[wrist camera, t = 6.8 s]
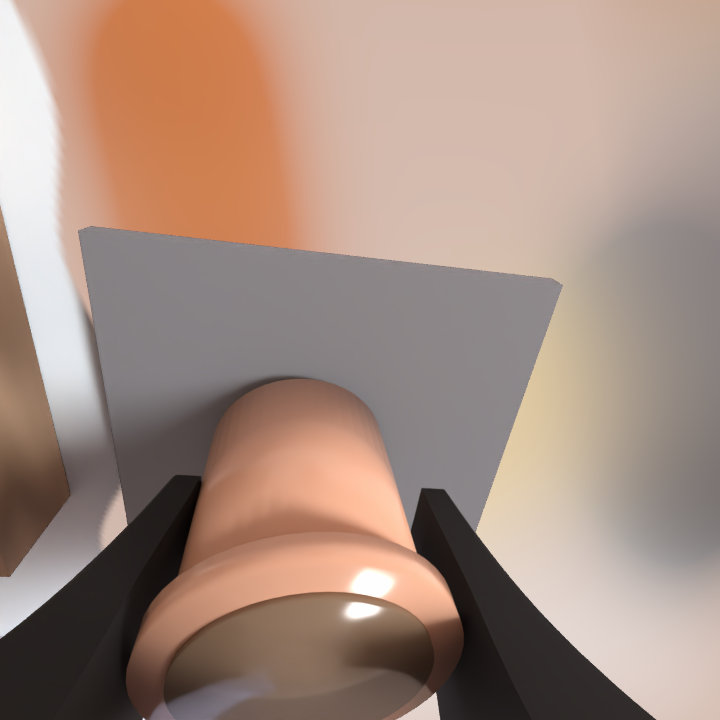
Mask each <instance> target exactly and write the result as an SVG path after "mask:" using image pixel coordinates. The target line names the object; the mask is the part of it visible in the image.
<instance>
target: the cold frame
mask: <svg viewBox="0 0 720 720" xmlns="http://www.w3.org/2000/svg"><path fill="white" fill-rule="evenodd" d="M69 496H70V491H69V487H68V483H67V479H66V474H65V470H64V466H63V462H62V458H61V454H60V450H59V446H58V442H57V437H56V433H55V429H54V425H53V421H52V417H51V413H50V409H49V404H48V400H47V396H46V392H45V388H44V384H43V380H42V376H41V372H40V367H39V363H38V359H37V355H36V351H35V347H34V343H33V339H32V335H31V330H30V326H29V322H28V318H27V314H26V310H25V306H24V302H23V298H22V293H21V289H20V285H19V281H18V277H17V273H16V269H15V265H14V261H13V256H12V252H11V248H10V244H9V240H8V236H7V232H6V228H5V224H4V219H3V215H2V211H1V207H0V577H10V576H11V574H12V573H13V572H14V570H15V569H16V568H17V566H18V565H19V564H20V562H21V561H22V560H23V558H24V557H25V556H26V554H27V553H28V552H29V550H30V549H31V548H32V546H33V545H34V543H35V542H36V541H37V539H38V538H39V537H40V535H41V534H42V533H43V531H44V530H45V529H46V527H47V526H48V525H49V523H50V522H51V521H52V519H53V518H54V517H55V515H56V514H57V513H58V511H59V510H60V509H61V507H62V506H63V504H64V503H65V502H66V500H67V499H68V498H69Z"/></svg>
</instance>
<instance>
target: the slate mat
mask: <svg viewBox="0 0 720 720" xmlns="http://www.w3.org/2000/svg"><path fill="white" fill-rule="evenodd" d="M78 233H79V239H80V244H81V251H82V256H83V263H84V269H85V274H86V281H87V287H88V292H89V298H90V304H91V310H92V316H93V322H94V328H95V334H96V340H97V346H98V352H99V358H100V364H101V370H102V375H103V381H104V387H105V393H106V399H107V405H108V411H109V417H110V423H111V429H112V435H113V441H114V447H115V453H116V458H117V464H118V470H119V476H120V482H121V488H122V494H123V500H124V505H125V511H126V517H127V524H128V525H129V524H130V523H131V522H132V521H133V520H134V519H135V518H136V517H137V515H138V514H139V513H140V512H141V511H142V510H143V509H144V508H145V507H146V506H147V505H148V504H149V503H150V501H151V500H152V499H153V498H154V497H155V496H156V495H157V494H158V493H159V492H160V490H161V489H162V488H163V487H164V486H165V485H166V484H167V482H168V481H169V480H170V479H171V478H172V477H173V476H175V475H192V476H201V482H202V479H203V475H204V471H205V467H206V463H207V459H208V455H209V451H210V447H211V443H212V439H213V435H214V432H215V429H216V427H217V424H218V423H219V421H220V419H221V417H222V416H223V415H224V413H225V412H226V411H227V409H228V408H229V407H230V406H231V405H232V404H233V403H234V402H235V401H237V400H238V399H239V398H241V397H242V396H243V395H245V394H247V393H248V392H250V391H252V390H254V389H256V388H258V387H261V386H263V385H266V384H269V383H273V382H276V381H282V380H288V379H314V380H320V381H325V382H329V383H332V384H335V385H338V386H340V387H342V388H345V389H347V390H348V391H350V392H352V393H353V394H355V395H356V396H357V397H359V398H360V399H361V400H362V401H363V402H364V403H365V404H366V405H367V406H368V407H369V408H370V410H371V411H372V413H373V414H374V416H375V418H376V420H377V422H378V425H379V428H380V432H381V435H382V438H383V442H384V445H385V448H386V452H387V455H388V459H389V462H390V465H391V469H392V472H393V475H394V479H395V482H396V485H397V489H398V492H399V495H400V499H401V502H402V505H403V509H404V512H405V515H406V519H407V522H408V525H409V529H410V531H411V528H412V524H413V520H414V516H415V512H416V508H417V504H418V500H419V496H420V492H421V488H433V489H444V490H445V491H446V492H447V493H448V495H449V496H450V498H451V499H452V501H453V502H454V503H455V505H456V506H457V508H458V509H459V511H460V512H461V513H462V515H463V516H464V518H465V519H466V520H467V522H468V523H469V525H470V526H471V527H472V529H473V530H474V531H475V532H476V529H477V526H478V523H479V521H480V518H481V515H482V512H483V509H484V506H485V503H486V501H487V498H488V495H489V492H490V489H491V487H492V483H493V481H494V478H495V475H496V472H497V470H498V467H499V464H500V461H501V458H502V455H503V452H504V450H505V447H506V444H507V441H508V439H509V436H510V433H511V430H512V427H513V424H514V421H515V419H516V416H517V413H518V410H519V407H520V405H521V402H522V399H523V396H524V393H525V390H526V388H527V385H528V381H529V379H530V376H531V373H532V371H533V368H534V365H535V362H536V359H537V356H538V353H539V350H540V348H541V345H542V342H543V339H544V337H545V334H546V331H547V328H548V325H549V323H550V320H551V317H552V314H553V311H554V308H555V306H556V302H557V300H558V297H559V294H560V291H561V289H562V284H560V283H558V282H557V281H555V280H553V279H551V278H542V277H533V276H524V275H515V274H507V273H498V272H488V271H480V270H472V269H462V268H454V267H445V266H436V265H428V264H418V263H410V262H401V261H392V260H383V259H375V258H366V257H357V256H349V255H340V254H331V253H322V252H312V251H305V250H295V249H287V248H278V247H269V246H261V245H252V244H243V243H234V242H226V241H216V240H207V239H198V238H190V237H181V236H173V235H164V234H154V233H146V232H138V231H129V230H120V229H111V228H102V227H94V226H90V227H87V228H85V229H82V230H79V231H78Z"/></svg>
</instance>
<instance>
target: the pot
mask: <svg viewBox="0 0 720 720" xmlns="http://www.w3.org/2000/svg"><path fill="white" fill-rule="evenodd" d="M463 646H464V632H463V627H462V623H461V620H460V617H459V614H458V611H457V608H456V605H455V602H454V600H453V597H452V594H451V591H450V589H449V587H448V584H447V582H446V580H445V579H444V577H443V576H442V575H441V573H440V572H439V571H438V569H437V568H436V567H434V566H433V565H432V564H431V563H430V562H429V561H428V560H427V559H425V558H424V557H422V556H420V555H419V554H417V552H416V549H415V545H414V542H413V539H412V535H411V532H410V529H409V525H408V522H407V519H406V515H405V512H404V509H403V505H402V502H401V499H400V495H399V492H398V489H397V485H396V482H395V479H394V475H393V472H392V469H391V465H390V462H389V459H388V455H387V452H386V448H385V445H384V442H383V438H382V435H381V432H380V428H379V425H378V422H377V420H376V418H375V416H374V414H373V413H372V411H371V410H370V408H369V407H368V406H367V405H366V404H365V403H364V402H363V401H362V400H361V399H360V398H359V397H357V396H356V395H355V394H353V393H352V392H350V391H348V390H347V389H345V388H342V387H340V386H338V385H335V384H332V383H329V382H325V381H320V380H314V379H288V380H282V381H276V382H273V383H269V384H266V385H263V386H261V387H258V388H256V389H254V390H252V391H250V392H248V393H247V394H245V395H243V396H242V397H241V398H239V399H238V400H237V401H235V402H234V403H233V404H232V405H231V406H230V407H229V408H228V409H227V411H226V412H225V413H224V415H223V416H222V417H221V419H220V421H219V423H218V424H217V427H216V429H215V432H214V435H213V439H212V443H211V447H210V451H209V455H208V459H207V463H206V467H205V471H204V475H203V479H202V483H201V487H200V490H199V494H198V498H197V502H196V506H195V510H194V514H193V518H192V522H191V526H190V530H189V534H188V538H187V542H186V546H185V549H184V553H183V557H182V561H181V565H180V569H179V573H178V577H176V578H175V579H174V580H173V581H172V582H171V583H169V584H168V585H167V586H166V587H165V588H164V589H163V590H162V591H161V592H160V593H159V594H158V595H157V597H156V598H155V599H154V600H153V601H152V602H151V604H150V606H149V607H148V609H147V611H146V612H145V614H144V616H143V618H142V621H141V624H140V627H139V630H138V634H137V637H136V640H135V644H134V647H133V650H132V653H131V657H130V660H129V663H128V666H127V671H126V687H127V692H128V696H129V698H130V700H131V702H132V704H133V706H134V707H135V709H136V710H137V711H138V712H139V714H140V715H141V716H142V717H143V718H144V719H145V720H396V719H398V718H399V717H401V716H403V715H405V714H407V713H408V712H410V711H411V710H413V709H415V708H416V707H418V706H419V705H420V704H422V703H423V702H424V701H426V700H427V699H428V698H430V697H431V696H432V695H433V694H434V693H435V692H436V691H437V690H438V689H440V687H441V686H442V685H443V684H444V683H445V682H446V681H447V679H448V678H449V677H450V675H451V674H452V672H453V671H454V669H455V668H456V666H457V664H458V662H459V659H460V657H461V654H462V650H463Z"/></svg>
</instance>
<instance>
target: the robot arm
mask: <svg viewBox="0 0 720 720" xmlns="http://www.w3.org/2000/svg"><path fill="white" fill-rule="evenodd" d="M201 483H202V482H201V476H192V475H175V476H173V477H172V478H171V479H170V480H169V481H168V482H167V484H166V485H165V486H164V487H163V488H162V489H161V490H160V492H159V493H158V494H157V495H156V496H155V497H154V498H153V499H152V500H151V501H150V503H149V504H148V505H147V506H146V507H145V508H144V509H143V510H142V511H141V512H140V513H139V514H138V515H137V517H136V518H135V519H134V520H133V521H132V522H131V523H130V524H129V525H128V526H127V527H126V528H125V529H124V530H123V531H122V532H121V533H120V534H119V535H118V536H117V537H116V538H115V539H114V540H113V541H112V542H111V543H110V544H109V545H108V546H107V547H106V548H105V549H104V550H103V551H102V552H101V553H100V554H99V555H98V556H97V557H96V558H94V559H93V560H92V561H91V562H90V563H89V564H88V565H87V566H86V567H85V568H84V569H83V570H82V571H81V572H79V573H78V574H77V575H76V576H75V577H74V578H73V579H72V580H71V581H70V582H69V583H67V584H66V585H65V586H64V587H63V588H62V589H61V590H59V591H58V592H57V593H56V594H55V595H54V596H53V597H51V598H50V599H49V600H48V601H47V602H46V603H44V604H43V605H42V606H41V607H40V608H38V609H37V610H36V611H35V612H34V613H32V614H31V615H30V616H29V617H27V618H26V619H25V620H24V621H23V622H21V623H20V624H19V625H18V626H16V627H15V628H14V629H12V630H11V631H10V632H9V633H7V634H6V635H5V636H3V637H2V638H1V639H0V720H145V719H144V718H143V717H142V716H141V715H140V714H139V712H138V711H137V710H136V709H135V707H134V706H133V704H132V702H131V700H130V698H129V696H128V692H127V687H126V671H127V666H128V663H129V660H130V657H131V653H132V650H133V647H134V644H135V640H136V637H137V634H138V630H139V627H140V624H141V621H142V618H143V616H144V614H145V612H146V611H147V609H148V607H149V606H150V604H151V602H152V601H153V600H154V599H155V598H156V597H157V595H158V594H159V593H160V592H161V591H162V590H163V589H164V588H165V587H166V586H167V585H168V584H169V583H171V582H172V581H173V580H174V579H175V578H176V577H178V573H179V569H180V565H181V561H182V557H183V553H184V549H185V546H186V542H187V538H188V534H189V530H190V526H191V522H192V518H193V514H194V510H195V506H196V502H197V498H198V494H199V490H200V487H201ZM410 532H411V535H412V539H413V542H414V545H415V549H416V552H417V554H419V555H420V556H422V557H424V558H425V559H427V560H428V561H429V562H430V563H431V564H432V565H433V566H434V567H436V568H437V569H438V571H439V572H440V573H441V575H442V576H443V577H444V579H445V580H446V582H447V584H448V587H449V589H450V591H451V594H452V597H453V600H454V602H455V605H456V608H457V611H458V614H459V617H460V620H461V623H462V627H463V632H464V646H463V650H462V654H461V657H460V659H459V662H458V664H457V666H456V668H455V669H454V671H453V672H452V674H451V675H450V677H449V678H448V679H447V681H446V682H445V683H444V684H443V685H442V686H441V687H440V689H438V690H437V691H436V694H437V699H438V706H439V713H440V720H656V719H655V718H653V717H652V716H651V715H650V714H649V713H647V712H646V711H645V710H644V709H643V708H641V707H640V706H639V705H638V704H637V703H635V702H634V701H633V700H632V699H631V698H630V697H628V696H627V695H626V694H625V693H624V692H623V691H622V690H620V689H619V688H618V687H617V686H616V685H615V684H614V683H612V682H611V681H610V680H609V679H608V678H607V677H606V676H605V675H604V674H603V673H602V672H601V671H600V670H598V669H597V668H596V667H595V666H594V665H593V664H592V663H591V662H590V661H589V660H588V659H586V658H585V657H584V656H583V655H582V654H581V653H580V652H579V651H578V650H577V649H576V648H575V647H574V646H573V645H572V644H571V643H570V642H569V641H568V640H567V639H566V638H565V637H564V636H563V635H562V634H561V633H560V632H559V631H558V630H557V629H556V628H555V627H554V626H553V625H552V624H551V623H550V622H549V621H548V620H547V619H546V618H545V617H544V616H543V615H542V613H541V612H540V611H539V610H538V609H537V608H536V607H535V606H534V605H533V603H532V602H531V601H530V600H529V599H528V598H527V597H526V596H525V594H524V593H523V592H522V591H521V590H520V589H519V587H518V586H517V585H516V584H515V583H514V581H513V580H512V579H511V578H510V577H509V575H508V574H507V573H506V572H505V571H504V570H503V568H502V567H501V566H500V564H499V563H498V562H497V560H496V559H495V558H494V557H493V555H492V554H491V553H490V551H489V550H488V549H487V548H486V546H485V545H484V544H483V543H482V541H481V540H480V538H479V537H478V536H477V534H476V533H475V531H474V530H473V529H472V527H471V526H470V525H469V523H468V522H467V520H466V519H465V518H464V516H463V515H462V513H461V512H460V511H459V509H458V508H457V506H456V505H455V503H454V502H453V501H452V499H451V498H450V496H449V495H448V493H447V492H446V491H445V490H444V489H433V488H421V492H420V496H419V500H418V504H417V508H416V512H415V516H414V520H413V524H412V528H411V531H410Z"/></svg>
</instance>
